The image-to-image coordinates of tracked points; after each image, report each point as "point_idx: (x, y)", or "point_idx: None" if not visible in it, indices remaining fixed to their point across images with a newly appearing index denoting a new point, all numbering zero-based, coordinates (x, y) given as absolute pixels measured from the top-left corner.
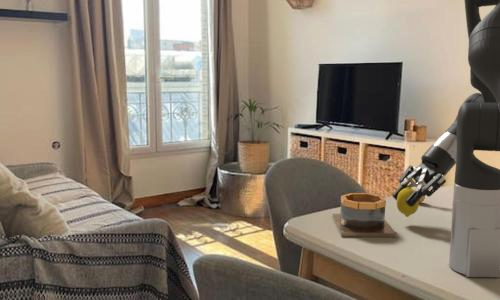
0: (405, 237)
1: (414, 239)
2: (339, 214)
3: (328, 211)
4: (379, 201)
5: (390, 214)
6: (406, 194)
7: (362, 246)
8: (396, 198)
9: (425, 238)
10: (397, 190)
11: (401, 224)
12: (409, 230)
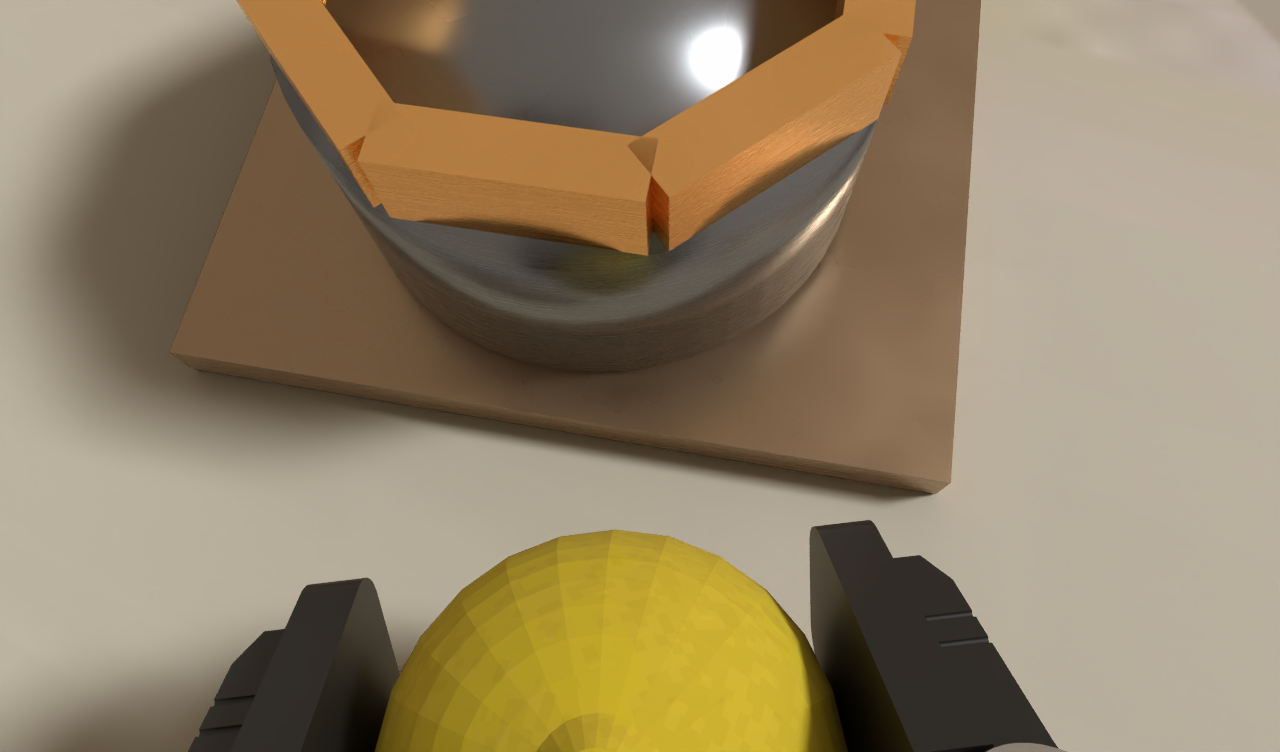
0: (155, 468)
1: (61, 537)
2: (953, 18)
3: (1213, 14)
4: (309, 38)
5: (1108, 713)
6: (435, 637)
7: (83, 3)
8: (816, 597)
9: (41, 689)
10: (897, 616)
11: None
12: None
